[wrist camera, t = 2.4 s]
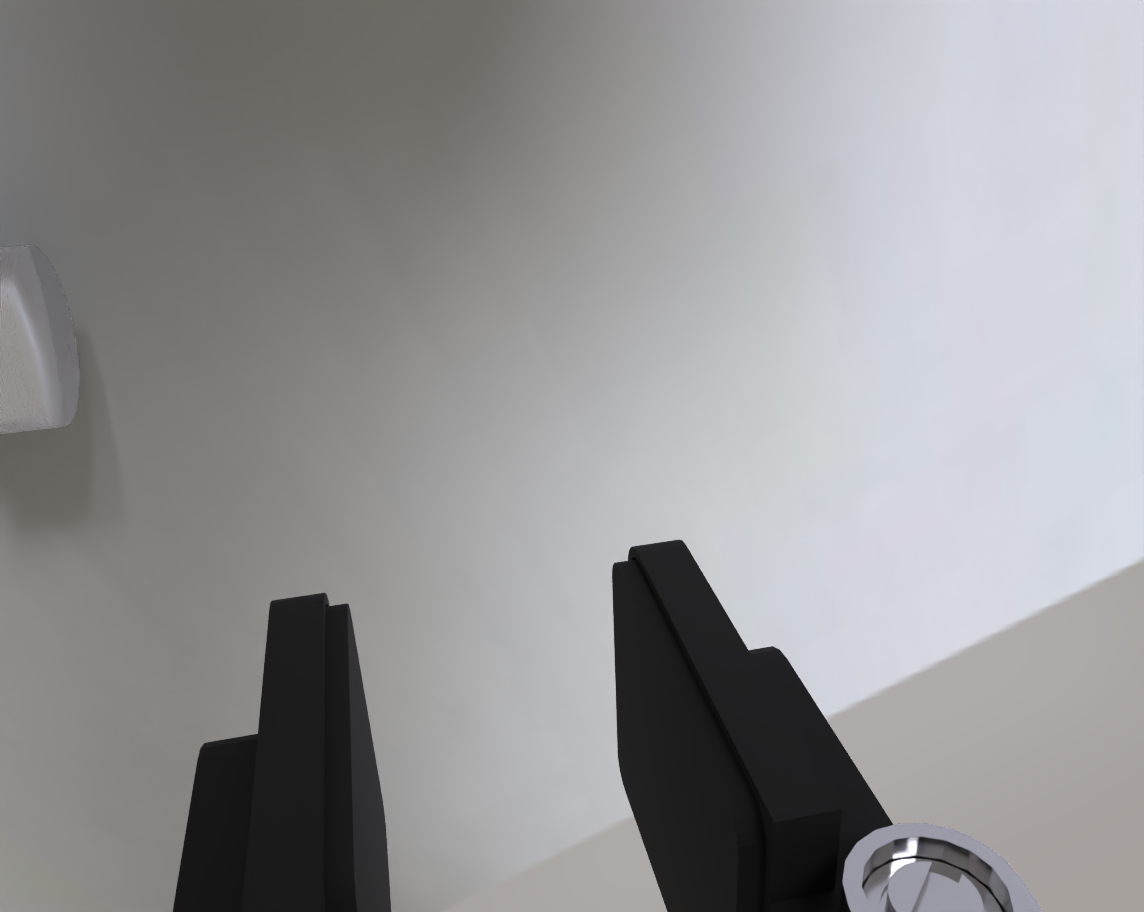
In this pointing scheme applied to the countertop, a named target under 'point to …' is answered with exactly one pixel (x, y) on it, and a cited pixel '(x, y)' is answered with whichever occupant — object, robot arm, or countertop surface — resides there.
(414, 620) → the countertop surface
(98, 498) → the countertop surface
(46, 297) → the knob aluminium
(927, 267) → the countertop surface
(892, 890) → the robot arm
